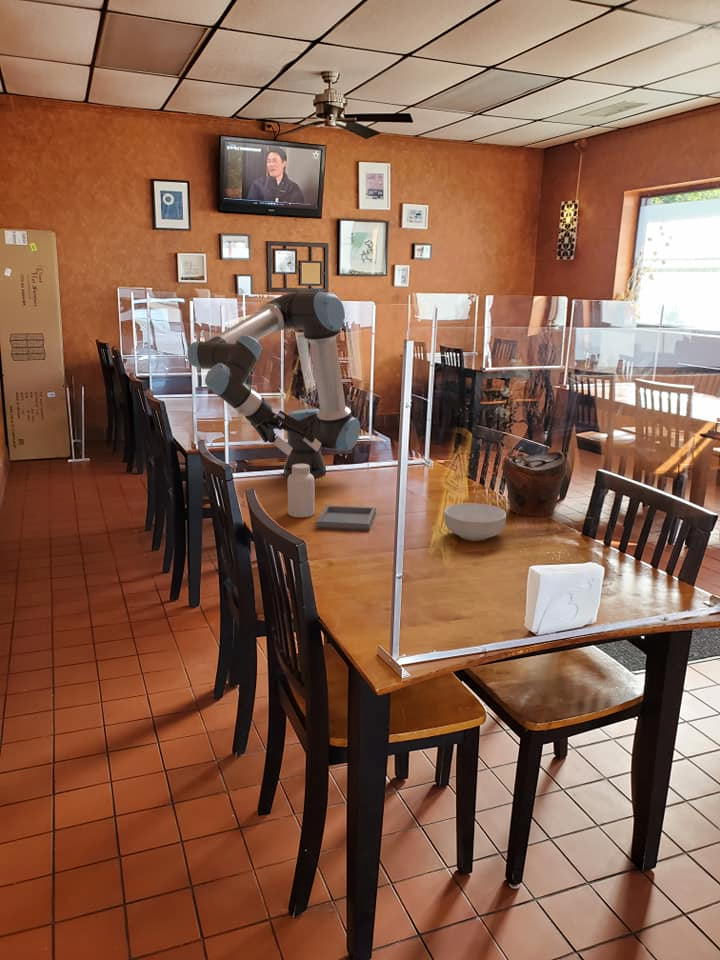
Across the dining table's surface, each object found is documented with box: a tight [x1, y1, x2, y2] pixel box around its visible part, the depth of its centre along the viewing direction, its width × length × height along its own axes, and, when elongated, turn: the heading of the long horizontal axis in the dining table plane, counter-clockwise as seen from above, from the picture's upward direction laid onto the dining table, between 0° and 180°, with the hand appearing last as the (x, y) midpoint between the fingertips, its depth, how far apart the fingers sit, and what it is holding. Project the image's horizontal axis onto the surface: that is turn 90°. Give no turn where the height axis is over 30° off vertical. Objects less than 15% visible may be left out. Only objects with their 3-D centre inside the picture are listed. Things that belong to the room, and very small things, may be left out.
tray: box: [315, 504, 377, 532], centre depth 212 cm, size 15×15×2 cm
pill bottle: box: [287, 464, 316, 519], centre depth 217 cm, size 8×8×15 cm
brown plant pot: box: [501, 451, 567, 517], centre depth 219 cm, size 18×20×18 cm
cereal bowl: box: [443, 502, 507, 542], centre depth 199 cm, size 17×17×7 cm
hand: (304, 449), depth 217 cm, fingers open, 13 cm apart
